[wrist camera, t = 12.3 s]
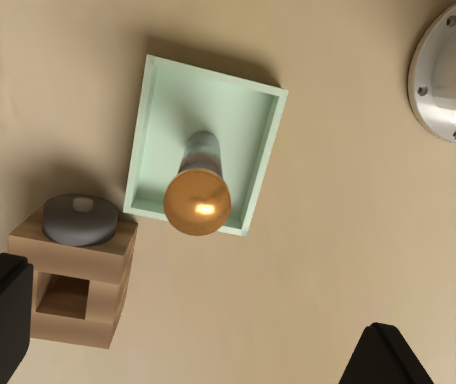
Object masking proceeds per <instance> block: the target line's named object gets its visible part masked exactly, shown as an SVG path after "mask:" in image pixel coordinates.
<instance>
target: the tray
mask: <svg viewBox="0 0 456 384" xmlns="http://www.w3.org/2000/svg"><path fill="white" fill-rule="evenodd" d="M288 92H289V91H288V90H285V89H283V88H279V87H275V86H271V85H268V84H264V83H260V82H256V81H252V80H248V79H244V78H240V77H236V76H232V75H228V74H224V73H221V72H217V71H213V70H209V69H205V68H201V67H197V66H193V65H189V64H185V63H181V62H178V61H174V60H170V59H166V58H162V57H158V56H154V55H147V57H146V63H145V70H144V76H143V83H142V90H141V96H140V103H139V109H138V116H137V122H136V129H135V136H134V142H133V149H132V155H131V162H130V168H129V175H128V181H127V188H126V195H125V201H124V208H123V212H124V213H129V214H134V215H139V216H144V217H150V218H155V219H160V220H165V221H168V219H167V217H166V215H165V212H164V208H163V201H164V196H165V193H166V190H167V187H168V185H169V183H170V182H171V180H172V179H173V178H174V177H175V176H176V175H177V173H178V170H179V167H180V164H181V160H182V157H183V154H184V151H185V147H186V144H187V141H188V139H189V137H190V136H191V135H192V134H194V133H196V132H198V131H207V132H210V133H212V134H213V135H215V136H216V138H217V139H218V141H219V144H220V154H221V164H222V174H223V180H224V181H225V182H226V184H227V186H228V189H229V192H230V198H231V211H230V214H229V217H228V219H227V221H226V222H225V223H224V225H223V226H222V227H221V228H219V229H218V230H216V231H220V232H225V233H230V234H235V235H241V236H247V233H248V229H249V226H250V222H251V219H252V216H253V212H254V209H255V205H256V202H257V198H258V195H259V191H260V188H261V185H262V181H263V178H264V174H265V171H266V167H267V164H268V160H269V157H270V154H271V150H272V147H273V143H274V140H275V136H276V133H277V130H278V126H279V123H280V119H281V116H282V112H283V109H284V105H285V102H286V99H287V95H288Z"/></svg>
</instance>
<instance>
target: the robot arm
mask: <svg viewBox="0 0 456 384" xmlns="http://www.w3.org/2000/svg"><path fill="white" fill-rule="evenodd" d="M446 22H447V24H446ZM418 89H420V90H419V92H418ZM408 94H409V100H410V104H411V107H412V110H413V112H414V115H415V116H416V118H417V119H418V121H419V122H420V124H421V125H422V126H423V127H424V128H425V129H426V130H427V131H428V132H429V133H431V134H433V135H434V136H436V137H438V138H440V139H443V140H446V141H448V142H452V143H456V3H454V4H453V5H451V6H450V7H448V8H447V9H446V10H445V11H444V12H443V13H442V14H441V15H439V16H438V17H437V18H436V19H435V21H434V22H433V23H432V24H431V25H430V27H429V28H428V29H427V30H426V32H425V33H424V35H423V37H422V39H421V40H420V42H419V44H418V45H417V48H416V50H415V53H414V55H413V58H412V61H411V65H410V70H409V75H408ZM33 272H34V266H33V264H30V263H28V259H27V258H26V257H24V256H19V255H13V254H8V253H1V254H0V384H7V382H8V381H9V379H10V378H11V376H12V375H13V373H14V372H15V370H16V369H17V367H18V366H19V364H20V363H21V361H22V359H23V358H24V356H25V354H26V352H27V350H28V347H29V342H30V326H31V308H32V290H33ZM339 384H434V383H433V381H432V380H431V378H430V377H429V375H428V374H427V372H426V371H425V369H424V368H423V366H422V365H421V363H420V362H419V360H418V359H417V357H416V356H415V354H414V353H413V351H412V350H411V348H410V347H409V345H408V344H407V342H406V341H405V339H404V338H403V336H402V335H401V333H400V332H399V330H398V329H397V328H396V327H395V326H393V325H387V324H382V323H377V322H375V323H372V324H371V325H370V326H367V327H366V328H365V329H364V331H363V333H362V335H361V337H360V339H359V342H358V344H357V346H356V348H355V350H354V352H353V354H352V356H351V358H350V360H349V363H348V365H347V367H346V369H345V371H344V373H343V375H342V377H341V379H340V382H339Z"/></svg>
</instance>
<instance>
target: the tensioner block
mask: <svg viewBox="0 0 456 384" xmlns="http://www.w3.org/2000/svg"><path fill="white" fill-rule="evenodd" d="M118 213H119V211H118V208H117V207H116V206H115V205H114V204H113V203H111V202H110V201H108V200H105V199H103V198H99V197H96V196H90V195H81V194H70V195H62V196H58V197H54V198H52V199H50V200H48V201H47V202H46V203H45V204H44V206H42V207H41V208H40V209H38V210H37V211H36V212H35V213H34V214H32V215H31V216H30V217H29V218H28V219H27V220H25V221H24V222H23V223H22V224H21V225H20V226H18V227H17V228H16V229H15V230H14V231H12V232H11V233H10V234H9V235H8V254H13V255H19V256H24V257H26V258H27V259H28V263H30V264H33V266H34V272H33V290H32V308H31V326H30V338H37V339H44V340H50V341H57V342H64V343H70V344H77V345H84V346H91V347H97V348H104V349H109V347H110V344H111V341H112V338H113V336H114V333H115V330H116V327H117V324H118V322H119V319H120V316H121V313H122V310H123V308H124V304H125V298H126V292H127V286H128V280H129V274H130V268H131V263H132V257H133V251H134V245H135V239H136V233H137V227H138V224H135V223H130V222H125V221H120V220H118Z"/></svg>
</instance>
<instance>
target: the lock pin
mask: <svg viewBox="0 0 456 384" xmlns="http://www.w3.org/2000/svg"><path fill="white" fill-rule="evenodd" d="M163 208H164V212H165V215H166V217H167V219H168V221H169V222H170V223H171V225H172V226H173V227H174V228H176V229H177V230H179V231H180V232H182V233H185V234H188V235H193V236H202V235H208V234H210V233H213V232H215V231H216V230H218V229H219V228H221V227H222V226H223V225H224V223H225V222H226V221H227V219H228V217H229V214H230V211H231V198H230V192H229V189H228V186H227V184H226V182H225V181H224V180H223V174H222V164H221V154H220V144H219V141H218V139H217V138H216V136H215V135H213V134H212V133H210V132H207V131H198V132H196V133H194V134H192V135H191V136H190V137H189V139H188V141H187V144H186V147H185V151H184V154H183V157H182V160H181V164H180V167H179V170H178V173H177V175H176V176H175V177H174V178H173V179H172V180H171V182H170V183H169V185H168V187H167V190H166V193H165V196H164V201H163Z"/></svg>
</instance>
